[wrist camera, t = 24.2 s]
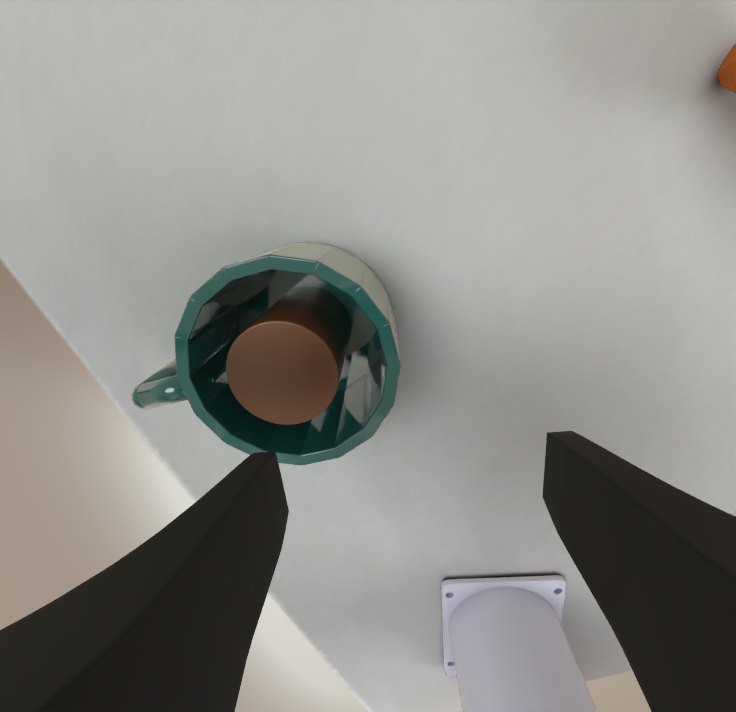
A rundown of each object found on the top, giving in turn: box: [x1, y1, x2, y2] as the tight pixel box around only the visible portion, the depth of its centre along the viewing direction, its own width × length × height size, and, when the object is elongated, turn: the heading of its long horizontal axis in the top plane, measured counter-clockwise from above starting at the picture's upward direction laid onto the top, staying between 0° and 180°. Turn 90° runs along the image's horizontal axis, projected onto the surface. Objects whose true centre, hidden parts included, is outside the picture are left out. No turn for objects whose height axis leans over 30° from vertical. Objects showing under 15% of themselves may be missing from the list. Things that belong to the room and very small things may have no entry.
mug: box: [132, 242, 401, 465], centre depth 17 cm, size 11×8×6 cm
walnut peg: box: [226, 287, 351, 425], centre depth 16 cm, size 4×4×6 cm
